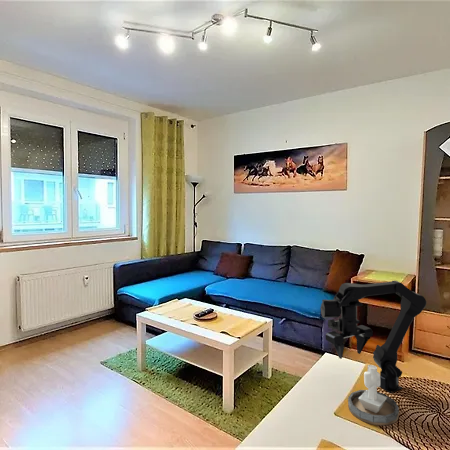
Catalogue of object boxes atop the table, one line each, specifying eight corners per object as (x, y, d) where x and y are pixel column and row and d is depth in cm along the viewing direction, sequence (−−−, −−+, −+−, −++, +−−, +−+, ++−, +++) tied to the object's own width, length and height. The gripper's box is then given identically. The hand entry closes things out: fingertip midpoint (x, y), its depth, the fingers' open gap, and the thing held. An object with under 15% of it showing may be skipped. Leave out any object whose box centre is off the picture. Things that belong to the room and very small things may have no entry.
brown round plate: (372, 392, 125) (372, 390, 125) (409, 417, 111) (409, 414, 111) (338, 403, 119) (338, 401, 119) (373, 431, 105) (373, 428, 105)
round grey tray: (372, 391, 125) (371, 386, 125) (408, 414, 111) (408, 409, 111) (339, 401, 119) (339, 396, 119) (373, 428, 105) (373, 422, 105)
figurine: (388, 405, 116) (388, 364, 115) (378, 418, 109) (377, 375, 108) (367, 397, 121) (367, 358, 120) (356, 409, 114) (356, 367, 113)
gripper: (352, 307, 138) (353, 343, 139) (316, 314, 131) (316, 352, 132) (373, 315, 128) (374, 354, 129) (335, 323, 121) (336, 364, 122)
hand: (349, 355), depth 128 cm, fingers open, 9 cm apart
